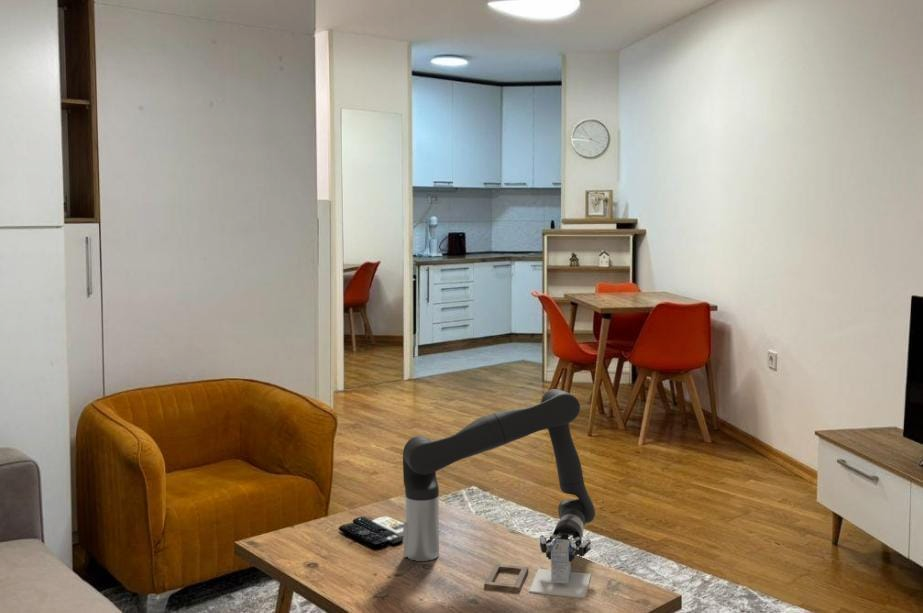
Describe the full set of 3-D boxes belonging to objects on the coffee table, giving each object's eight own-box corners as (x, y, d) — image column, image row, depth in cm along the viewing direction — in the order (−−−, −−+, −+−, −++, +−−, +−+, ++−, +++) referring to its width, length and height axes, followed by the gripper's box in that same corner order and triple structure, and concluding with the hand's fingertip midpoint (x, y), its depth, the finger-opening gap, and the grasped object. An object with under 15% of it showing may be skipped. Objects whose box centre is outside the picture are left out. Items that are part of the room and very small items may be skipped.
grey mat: (529, 592, 218) (529, 590, 218) (538, 570, 232) (538, 568, 232) (584, 598, 215) (585, 596, 215) (591, 575, 228) (591, 574, 228)
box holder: (484, 588, 221) (484, 583, 221) (495, 568, 233) (495, 563, 233) (519, 592, 219) (519, 587, 218) (528, 571, 231) (528, 567, 231)
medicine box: (568, 584, 219) (568, 551, 218) (551, 583, 220) (550, 550, 219) (571, 571, 227) (571, 539, 226) (554, 570, 228) (553, 538, 227)
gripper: (542, 516, 238) (531, 540, 221) (595, 521, 234) (588, 545, 218) (542, 543, 238) (531, 568, 222) (595, 547, 235) (587, 573, 218)
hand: (559, 556), depth 220 cm, fingers closed on medicine box, 4 cm apart
